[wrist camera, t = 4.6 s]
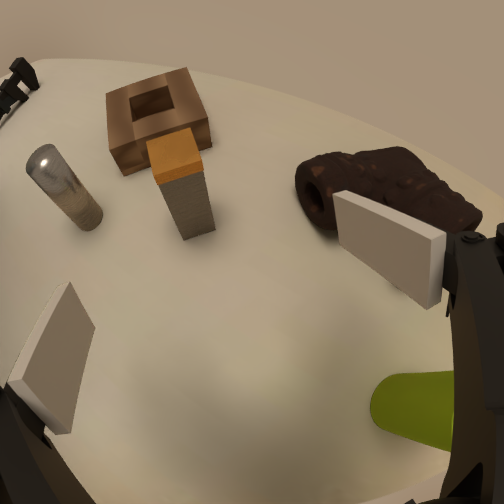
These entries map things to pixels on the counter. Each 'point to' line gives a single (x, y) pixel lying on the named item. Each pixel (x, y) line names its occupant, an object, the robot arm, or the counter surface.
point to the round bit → (63, 187)
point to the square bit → (182, 181)
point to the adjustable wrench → (9, 87)
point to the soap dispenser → (417, 407)
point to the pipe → (382, 188)
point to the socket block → (153, 117)
